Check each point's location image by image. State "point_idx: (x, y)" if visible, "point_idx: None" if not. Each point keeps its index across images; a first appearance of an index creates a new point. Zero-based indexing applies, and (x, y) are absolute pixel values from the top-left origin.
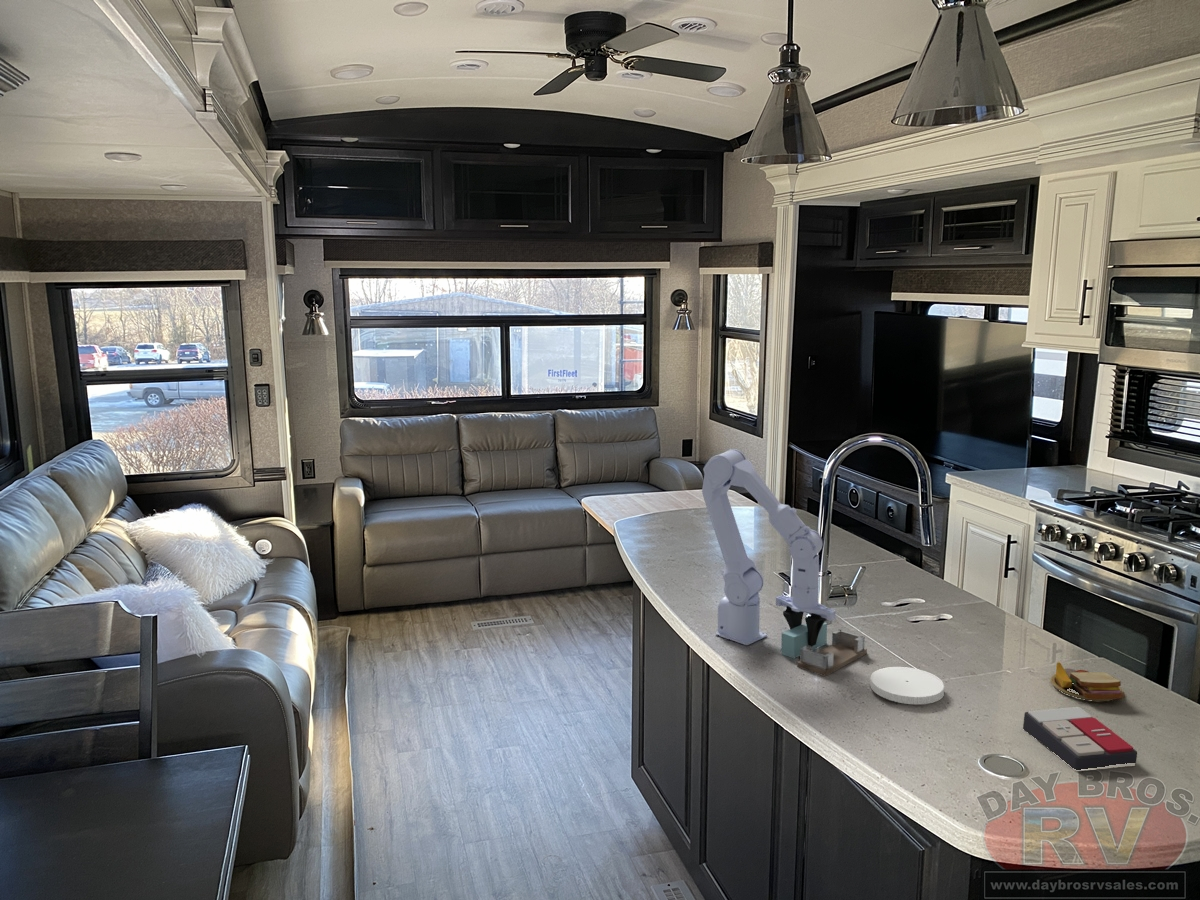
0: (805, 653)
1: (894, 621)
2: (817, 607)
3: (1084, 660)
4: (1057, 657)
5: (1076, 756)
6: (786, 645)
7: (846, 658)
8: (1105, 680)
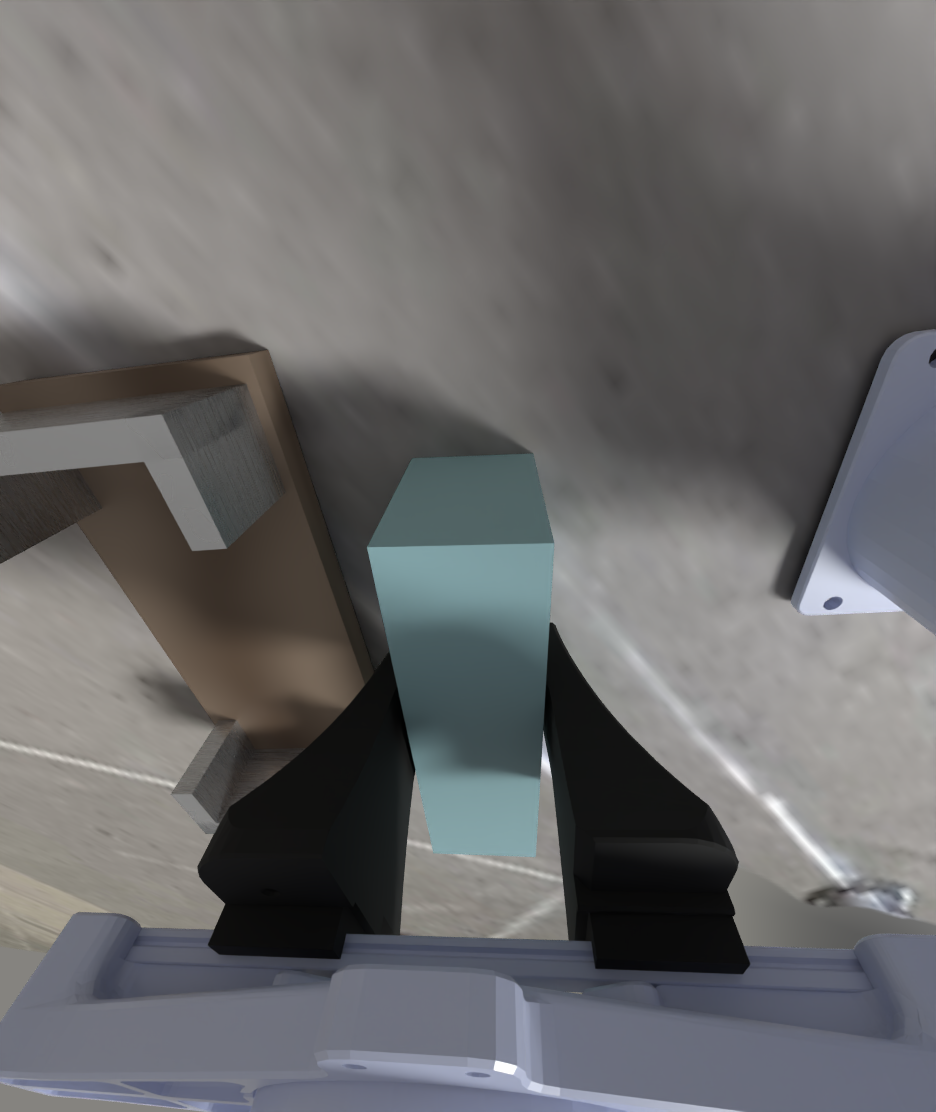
0: (124, 412)
1: (434, 922)
2: (237, 1103)
3: (18, 940)
4: (46, 933)
5: None
6: (480, 489)
7: (177, 648)
8: None
